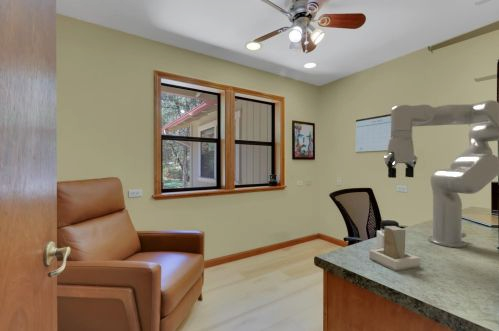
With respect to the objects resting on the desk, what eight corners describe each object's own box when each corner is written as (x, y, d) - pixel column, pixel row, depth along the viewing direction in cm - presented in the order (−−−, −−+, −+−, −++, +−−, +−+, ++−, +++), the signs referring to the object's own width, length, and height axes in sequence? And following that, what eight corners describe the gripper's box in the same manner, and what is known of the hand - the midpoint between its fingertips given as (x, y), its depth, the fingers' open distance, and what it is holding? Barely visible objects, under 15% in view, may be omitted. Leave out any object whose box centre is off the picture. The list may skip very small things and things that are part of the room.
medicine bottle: (403, 255, 89) (403, 223, 88) (382, 254, 90) (382, 222, 90) (395, 249, 96) (396, 219, 95) (376, 247, 97) (376, 218, 97)
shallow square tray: (391, 255, 89) (391, 247, 89) (419, 266, 79) (419, 257, 79) (369, 258, 86) (369, 250, 86) (395, 271, 76) (396, 261, 76)
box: (383, 257, 85) (383, 225, 85) (394, 256, 86) (394, 225, 85) (394, 263, 80) (394, 230, 80) (405, 262, 80) (406, 229, 80)
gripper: (407, 137, 106) (407, 176, 106) (377, 136, 100) (377, 177, 100) (425, 135, 98) (424, 177, 99) (393, 134, 93) (393, 178, 93)
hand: (400, 177), depth 99 cm, fingers open, 9 cm apart
